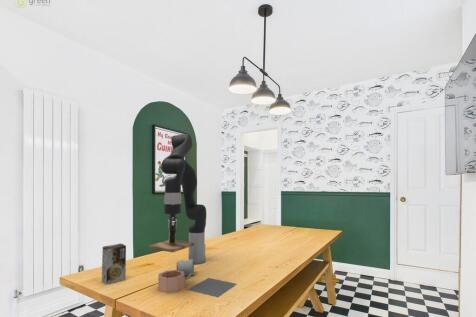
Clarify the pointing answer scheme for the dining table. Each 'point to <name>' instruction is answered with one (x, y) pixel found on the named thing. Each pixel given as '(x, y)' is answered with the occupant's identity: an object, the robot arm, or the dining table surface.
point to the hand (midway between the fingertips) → (172, 241)
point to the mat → (212, 287)
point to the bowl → (171, 281)
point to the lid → (171, 245)
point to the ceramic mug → (186, 267)
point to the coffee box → (113, 263)
